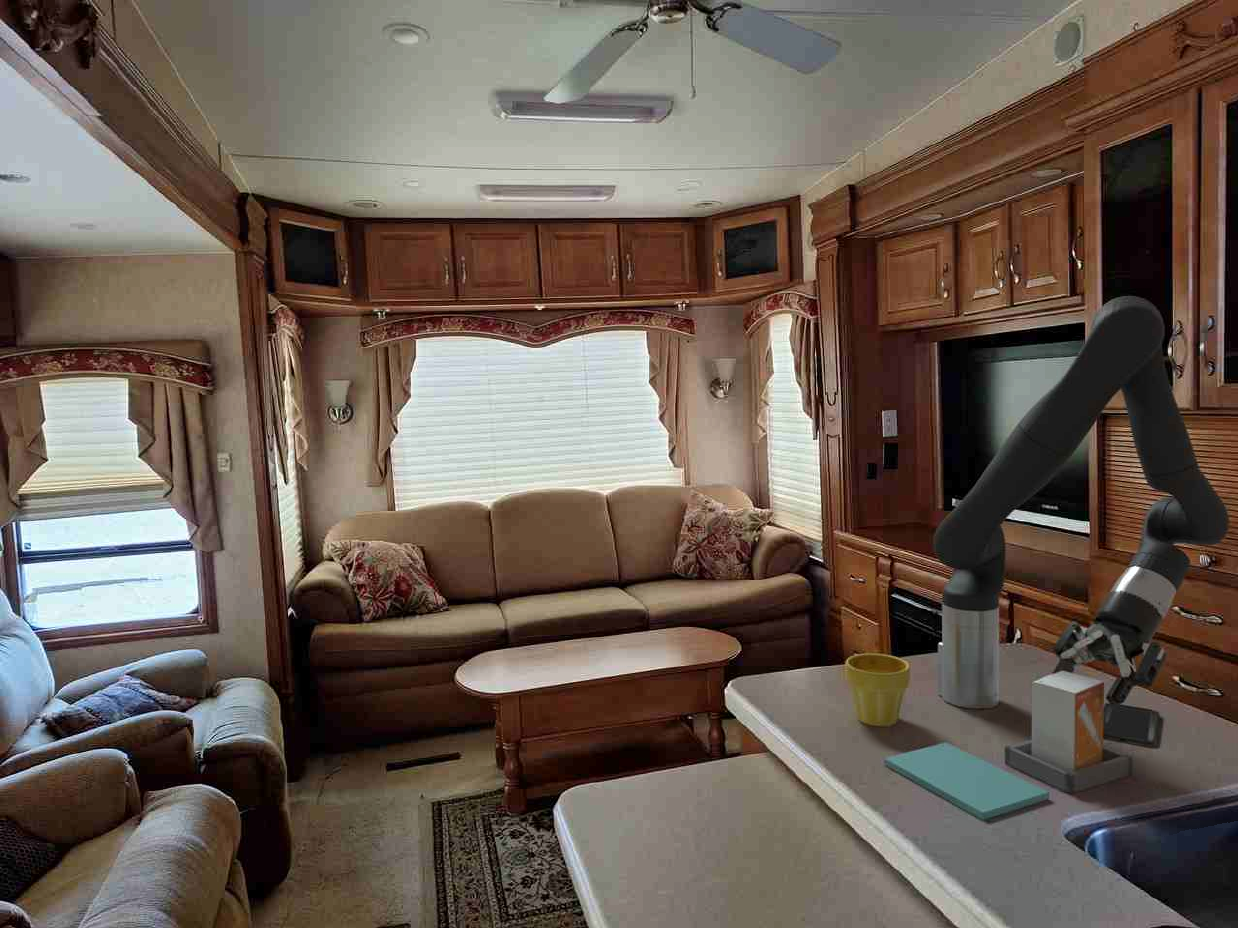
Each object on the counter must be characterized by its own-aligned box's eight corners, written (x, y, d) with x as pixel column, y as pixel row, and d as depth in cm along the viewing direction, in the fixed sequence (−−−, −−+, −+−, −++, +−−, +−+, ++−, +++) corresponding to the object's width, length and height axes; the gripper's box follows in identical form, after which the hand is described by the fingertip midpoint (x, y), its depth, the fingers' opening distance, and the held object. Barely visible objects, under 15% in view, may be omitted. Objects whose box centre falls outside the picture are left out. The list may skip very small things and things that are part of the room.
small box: (1074, 784, 113) (1075, 693, 112) (1030, 768, 118) (1030, 680, 117) (1104, 768, 118) (1105, 680, 117) (1060, 753, 123) (1060, 669, 122)
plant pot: (916, 731, 133) (916, 672, 132) (851, 730, 134) (850, 672, 133) (902, 707, 143) (902, 653, 142) (841, 707, 144) (841, 652, 143)
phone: (1159, 710, 136) (1154, 742, 124) (1159, 717, 136) (1154, 750, 124) (1104, 701, 141) (1095, 731, 128) (1104, 708, 141) (1094, 738, 129)
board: (884, 764, 121) (884, 758, 121) (945, 748, 126) (945, 742, 126) (982, 820, 105) (982, 812, 105) (1048, 799, 109) (1048, 791, 109)
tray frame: (1004, 763, 120) (1004, 746, 120) (1064, 746, 125) (1064, 730, 125) (1070, 793, 111) (1070, 775, 110) (1131, 774, 116) (1132, 757, 115)
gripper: (1080, 580, 127) (1027, 664, 124) (1173, 599, 114) (1118, 693, 111) (1103, 609, 130) (1052, 692, 126) (1197, 631, 117) (1143, 724, 113)
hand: (1083, 693), depth 118 cm, fingers open, 8 cm apart
